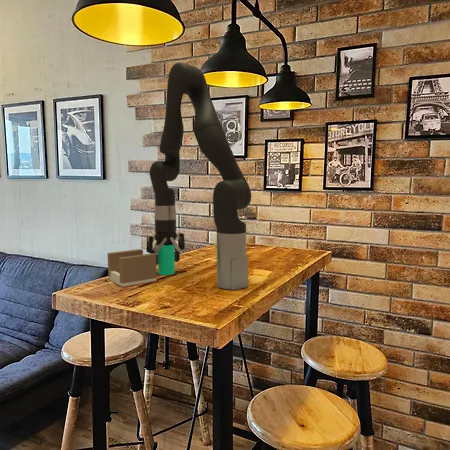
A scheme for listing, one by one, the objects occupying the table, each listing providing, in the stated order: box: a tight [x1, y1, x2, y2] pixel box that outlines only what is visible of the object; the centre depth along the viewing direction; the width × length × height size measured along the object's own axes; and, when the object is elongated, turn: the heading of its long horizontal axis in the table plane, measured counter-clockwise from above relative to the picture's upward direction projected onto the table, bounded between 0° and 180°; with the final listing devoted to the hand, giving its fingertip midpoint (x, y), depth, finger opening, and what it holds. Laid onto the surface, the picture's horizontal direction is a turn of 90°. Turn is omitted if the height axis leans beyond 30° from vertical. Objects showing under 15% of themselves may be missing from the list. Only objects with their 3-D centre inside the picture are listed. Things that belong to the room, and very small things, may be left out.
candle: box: [157, 245, 176, 276], centre depth 148 cm, size 6×6×12 cm
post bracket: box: [107, 248, 158, 287], centre depth 138 cm, size 12×12×9 cm
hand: (166, 263), depth 148 cm, fingers open, 8 cm apart
